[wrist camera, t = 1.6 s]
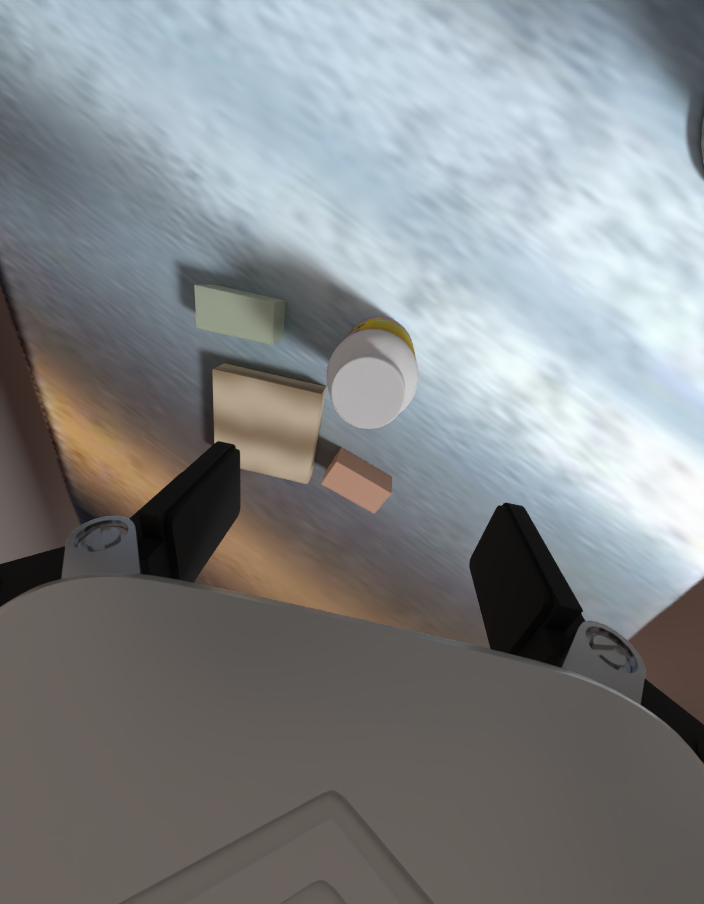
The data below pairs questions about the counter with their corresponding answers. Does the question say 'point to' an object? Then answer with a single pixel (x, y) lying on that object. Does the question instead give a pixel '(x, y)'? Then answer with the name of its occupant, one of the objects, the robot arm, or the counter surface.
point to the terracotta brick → (358, 480)
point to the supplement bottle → (373, 373)
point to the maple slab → (268, 420)
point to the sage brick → (239, 313)
